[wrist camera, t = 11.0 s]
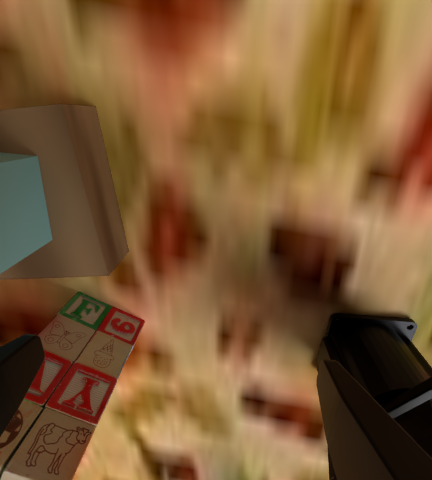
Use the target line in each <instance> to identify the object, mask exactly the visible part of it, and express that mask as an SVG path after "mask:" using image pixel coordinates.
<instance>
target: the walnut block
mask: <svg viewBox="0 0 432 480" xmlns="http://www.w3.org/2000/svg"><path fill="white" fill-rule="evenodd" d="M0 152H1V153H11V154H22V155H32V156H38V161H39V166H40V172H41V178H42V183H43V189H44V195H45V200H46V206H47V212H48V217H49V223H50V228H51V234H52V240H51V241H50V242H48V243H47V244H45V245H44V246H42V247H41V248H39V249H38V250H36V251H35V252H33V253H32V254H30V255H28V256H27V257H25V258H24V259H22V260H21V261H19V262H18V263H16V264H15V265H13V266H12V267H10V268H9V269H7V270H6V271H4V272H3V273H1V274H0V280H2V279H31V278H59V277H87V276H109V275H110V274H111V272H112V271H113V270H114V269H115V267H116V266H117V265H118V264H119V263H120V261H121V260H122V259H123V258H124V256H125V255H126V254H127V253H128V252H129V250H128V245H127V241H126V236H125V232H124V228H123V223H122V219H121V215H120V210H119V206H118V202H117V197H116V193H115V189H114V184H113V180H112V176H111V171H110V167H109V163H108V158H107V154H106V150H105V145H104V141H103V137H102V132H101V128H100V124H99V119H98V115H97V111H96V107H94V106H82V105H70V104H55V105H45V106H35V107H25V108H15V109H5V110H0Z"/></svg>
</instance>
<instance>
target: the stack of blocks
mask: <svg viewBox="0 0 432 480" xmlns="http://www.w3.org/2000/svg"><path fill="white" fill-rule="evenodd" d="M144 323H145V321H144V320H142V319H140V318H137V317H135V316H133V315H131V314H128V313H126V312H124V311H122V310H120V309H117V308H115V307H112V306H109V305H107V304H105V303H103V302H101V301H98V300H96V299H94V298H92V297H90V296H87V295H85V294H83V293H81V292H78V293H77V294H76V295H75V296H74V297H73V298H72V299H71V300H70V301H69V302H68V303H67V304H66V305H65V306H64V307H63V308H62V309H61V310H60V311H59V312H58V313H57V315H56V317H55V318H54V319H53V320H52V321H51V322H50V323H49V324H48V325H47V326H46V327H45V328H44V329H43V330H42V331H41V332H40V333H39V334H38V336H39V337H40V338H41V341H42V345H43V348H44V352H45V358H44V361H43V363H42V365H41V367H40V369H39V371H38V373H37V375H36V377H35V379H34V380H33V382H32V384H31V386H30V388H29V390H28V392H27V394H26V396H25V397H24V399H23V401H22V403H21V405H20V407H19V408H18V410H17V412H16V413H15V415H14V417H13V418H12V420H11V421H10V423H9V424H8V426H7V428H6V429H5V431H4V432H3V434H2V435H1V437H0V480H72V479H73V477H74V474H75V472H76V470H77V468H78V466H79V464H80V461H81V459H82V457H83V455H84V453H85V451H86V448H87V446H88V444H89V442H90V440H91V437H92V435H93V432H94V430H95V428H96V426H97V424H98V422H99V420H100V418H101V416H102V414H103V412H104V410H105V407H106V405H107V403H108V401H109V399H110V397H111V394H112V392H113V390H114V388H115V385H116V383H117V380H118V377H119V375H120V373H121V370H122V368H123V366H124V364H125V362H126V360H127V358H128V356H129V355H130V353H131V351H132V349H133V347H134V345H135V343H136V340H137V338H138V336H139V334H140V332H141V330H142V327H143V325H144Z"/></svg>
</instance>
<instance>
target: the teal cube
mask: <svg viewBox="0 0 432 480" xmlns="http://www.w3.org/2000/svg"><path fill="white" fill-rule="evenodd" d="M51 240H52V234H51V228H50V223H49V217H48V212H47V206H46V200H45V195H44V189H43V183H42V178H41V172H40V166H39V161H38V156H32V155H22V154H11V153H1V152H0V274H1V273H3V272H4V271H6V270H7V269H9V268H10V267H12V266H13V265H15V264H16V263H18V262H19V261H21V260H22V259H24V258H25V257H27V256H28V255H30V254H32V253H33V252H35V251H36V250H38V249H39V248H41V247H42V246H44V245H45V244H47V243H48V242H50V241H51Z"/></svg>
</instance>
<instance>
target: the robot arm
mask: <svg viewBox="0 0 432 480" xmlns="http://www.w3.org/2000/svg"><path fill="white" fill-rule="evenodd" d="M337 319H339V320H338V321H335V320H337ZM408 325H410V326H408ZM416 329H417V324H416V323H415V322H414V321H413V320H412V319H405V318H392V317H379V316H366V315H353V314H340V313H336V314H333V315H331V317H330V319H329V323H328V327H327V331H326V335H325V336H324V337H323V338H322V341H321V344H320V348H319V352H318V356H317V363H318V366H317V371H318V376H317V389H318V395H319V401H320V406H321V412H322V418H323V424H324V430H325V435H326V440H327V444H328V461H329V480H432V368H431V366H430V365H429V364H428V362H427V361H426V360H425V359H424V357H423V356H422V355H421V353H420V352H419V351H418V350H417V348H416V347H415V346H414V345H413V343H412V342H411V341H412V338H413V336H414V334H415V331H416ZM44 358H45V352H44V348H43V345H42V341H41V338H40V337H39V336H38V335H31V334H25V335H23V336H21V337H19V338H17V339H15V340H13V341H11V342H9V343H7V344H5V345H4V346H2V347H0V437H1V435H2V434H3V432H4V431H5V429H6V428H7V426H8V424H9V423H10V421H11V420H12V418H13V417H14V415H15V413H16V412H17V410H18V408H19V407H20V405H21V403H22V401H23V399H24V397H25V396H26V394H27V392H28V390H29V388H30V386H31V384H32V382H33V380H34V379H35V377H36V375H37V373H38V371H39V369H40V367H41V365H42V363H43V361H44Z"/></svg>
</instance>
